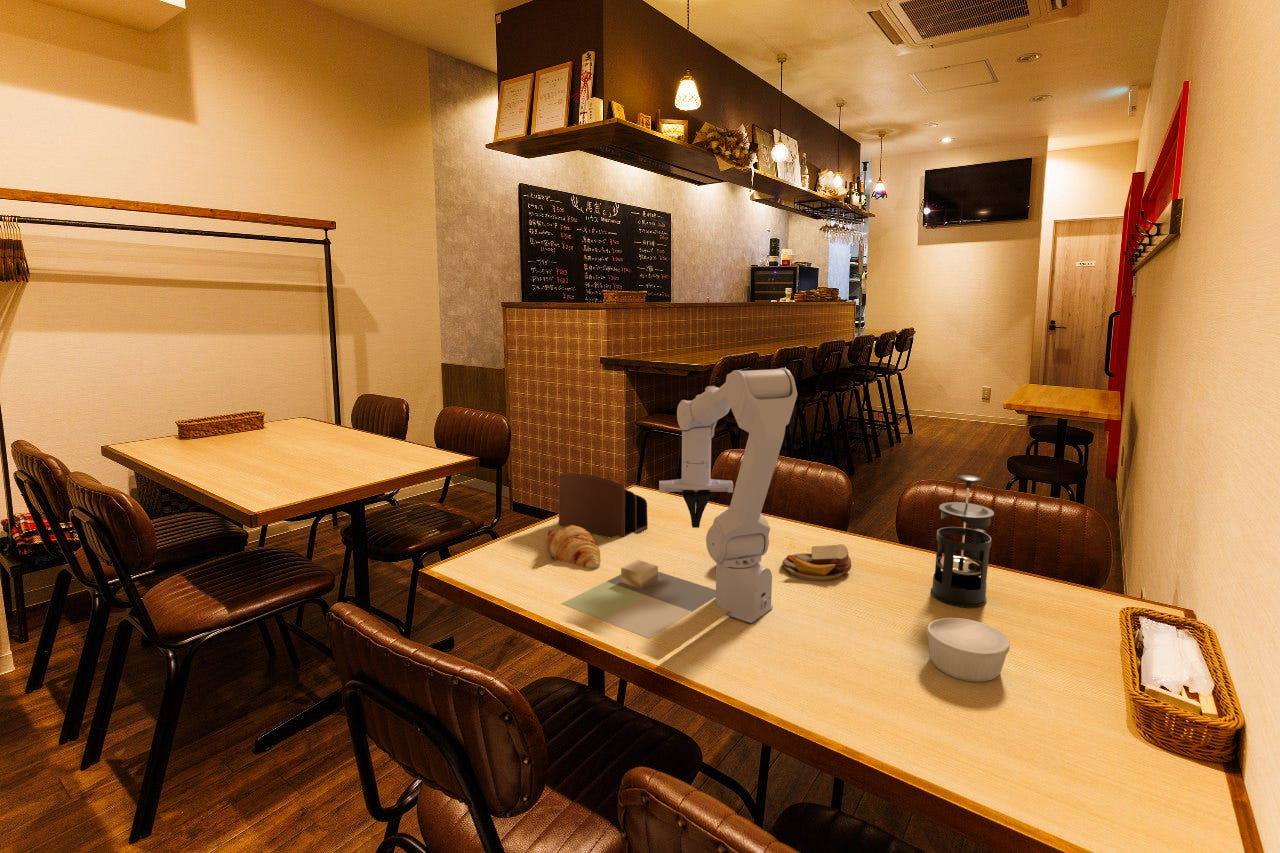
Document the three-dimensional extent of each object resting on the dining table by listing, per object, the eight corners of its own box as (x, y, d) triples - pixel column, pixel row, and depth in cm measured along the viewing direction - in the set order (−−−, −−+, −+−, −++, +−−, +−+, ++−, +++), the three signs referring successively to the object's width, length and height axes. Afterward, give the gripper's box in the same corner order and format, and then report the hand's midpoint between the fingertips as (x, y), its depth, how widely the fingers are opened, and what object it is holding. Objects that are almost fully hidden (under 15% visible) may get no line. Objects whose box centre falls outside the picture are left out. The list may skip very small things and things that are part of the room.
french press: (966, 614, 118) (978, 487, 113) (918, 594, 125) (927, 475, 121) (1001, 596, 124) (1014, 476, 120) (953, 579, 132) (963, 466, 127)
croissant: (609, 586, 138) (625, 550, 138) (570, 575, 132) (587, 537, 132) (561, 552, 155) (575, 520, 155) (525, 541, 149) (539, 507, 150)
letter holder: (623, 542, 153) (623, 482, 150) (558, 525, 164) (556, 469, 161) (648, 530, 161) (648, 473, 158) (584, 515, 172) (583, 461, 169)
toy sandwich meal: (787, 555, 145) (788, 534, 144) (853, 564, 140) (854, 542, 139) (777, 577, 134) (778, 555, 133) (847, 588, 129) (849, 564, 128)
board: (722, 597, 125) (722, 592, 124) (649, 644, 108) (649, 638, 108) (639, 570, 137) (639, 565, 137) (561, 608, 120) (561, 603, 120)
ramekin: (936, 639, 109) (939, 609, 108) (1013, 663, 102) (1017, 631, 101) (914, 669, 101) (917, 636, 100) (996, 696, 94) (1000, 662, 93)
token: (657, 580, 129) (657, 566, 129) (641, 589, 126) (641, 574, 125) (637, 574, 133) (637, 559, 132) (621, 582, 129) (621, 567, 128)
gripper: (730, 455, 136) (728, 519, 139) (658, 455, 136) (658, 519, 139) (735, 464, 129) (733, 531, 132) (660, 464, 129) (659, 531, 132)
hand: (695, 526), depth 135 cm, fingers closed
